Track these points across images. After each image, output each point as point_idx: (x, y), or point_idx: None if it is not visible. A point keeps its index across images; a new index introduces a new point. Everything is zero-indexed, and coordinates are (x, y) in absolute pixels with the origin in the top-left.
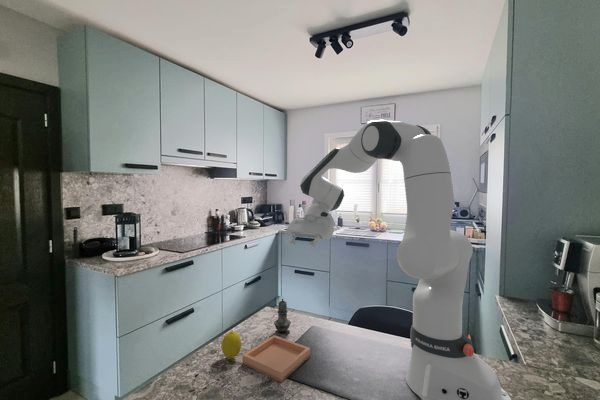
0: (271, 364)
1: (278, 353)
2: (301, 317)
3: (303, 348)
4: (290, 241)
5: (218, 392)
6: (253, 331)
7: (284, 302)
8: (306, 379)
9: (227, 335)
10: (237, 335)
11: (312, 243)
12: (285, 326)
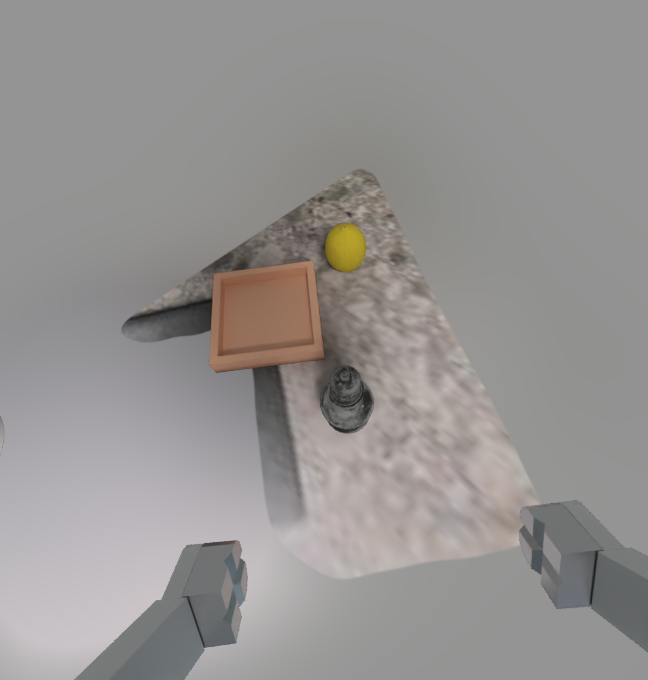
0: (260, 294)
1: (275, 326)
2: (380, 548)
3: (224, 356)
4: (574, 501)
5: (286, 218)
6: (414, 361)
7: (334, 378)
8: (186, 315)
9: (345, 223)
10: (333, 239)
11: (199, 550)
12: (324, 394)
